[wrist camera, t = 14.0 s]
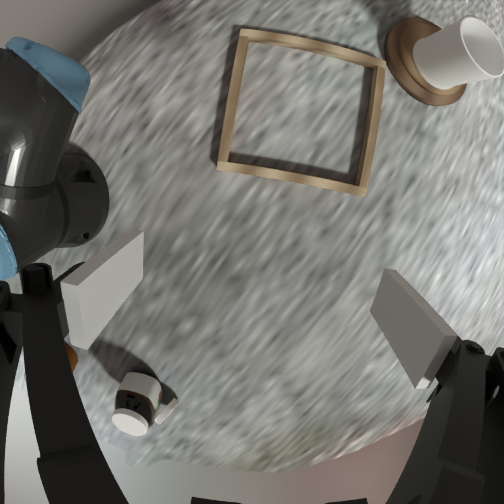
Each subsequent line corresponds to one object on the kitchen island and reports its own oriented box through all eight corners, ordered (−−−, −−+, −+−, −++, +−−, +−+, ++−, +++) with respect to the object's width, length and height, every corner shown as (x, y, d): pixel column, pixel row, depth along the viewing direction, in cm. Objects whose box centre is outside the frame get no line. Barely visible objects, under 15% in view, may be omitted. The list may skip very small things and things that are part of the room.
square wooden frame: (218, 169, 39) (216, 169, 37) (241, 33, 32) (240, 28, 30) (360, 194, 40) (365, 196, 38) (380, 64, 33) (386, 61, 31)
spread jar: (125, 362, 51) (104, 403, 40) (180, 374, 52) (166, 419, 41) (132, 400, 55) (116, 438, 44) (181, 411, 56) (170, 453, 45)
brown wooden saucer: (380, 86, 34) (389, 82, 31) (386, 8, 29) (393, 1, 26) (457, 119, 35) (469, 118, 32) (460, 44, 30) (470, 40, 27)
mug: (425, 15, 27) (467, -11, 15) (465, 48, 28) (512, 33, 16) (405, 66, 30) (452, 45, 19) (449, 100, 31) (501, 93, 20)
